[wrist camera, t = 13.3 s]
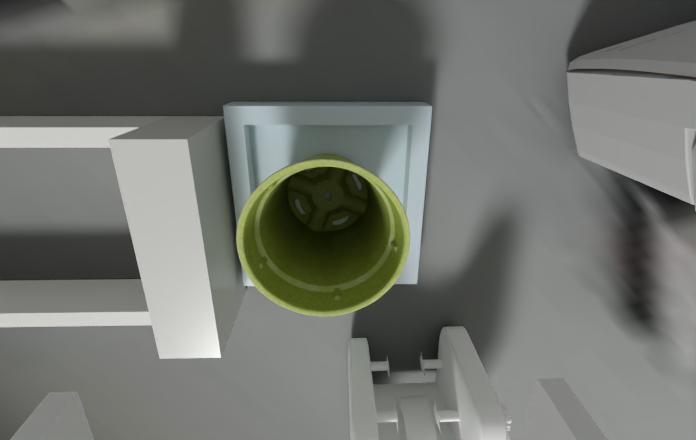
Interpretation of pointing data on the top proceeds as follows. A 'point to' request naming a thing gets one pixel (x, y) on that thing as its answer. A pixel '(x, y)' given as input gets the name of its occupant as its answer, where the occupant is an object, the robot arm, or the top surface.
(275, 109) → the tray
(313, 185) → the plant pot
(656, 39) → the stereo radio cassette player
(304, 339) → the top surface
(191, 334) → the bay
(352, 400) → the cable organizer
